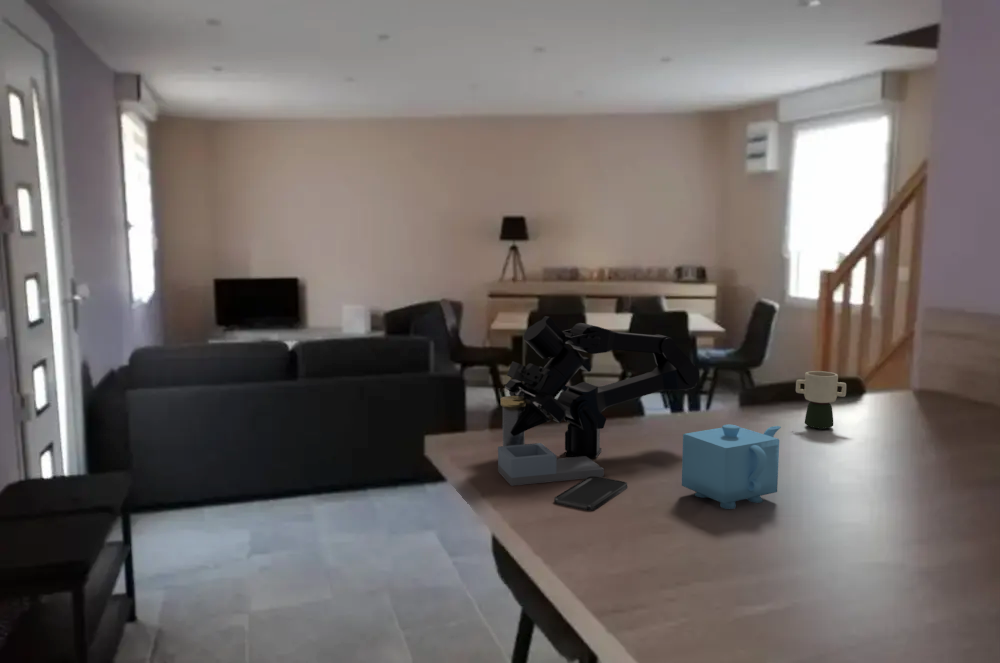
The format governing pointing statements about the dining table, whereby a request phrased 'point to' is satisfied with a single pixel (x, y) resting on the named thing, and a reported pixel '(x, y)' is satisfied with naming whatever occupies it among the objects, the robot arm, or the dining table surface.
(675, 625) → the dining table surface
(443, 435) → the dining table surface
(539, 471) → the hitch socket
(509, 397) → the pin
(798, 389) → the trophy cup
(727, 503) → the teapot
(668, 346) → the robot arm
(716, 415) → the dining table surface
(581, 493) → the phone
